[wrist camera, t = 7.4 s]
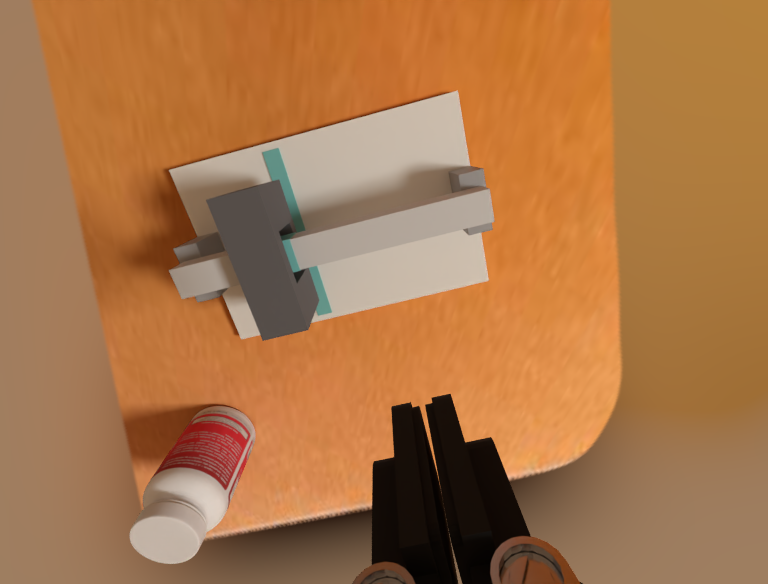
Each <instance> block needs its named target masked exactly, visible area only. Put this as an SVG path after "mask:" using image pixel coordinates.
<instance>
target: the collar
mask: <svg viewBox="0 0 768 584" xmlns="http://www.w3.org/2000/svg"><path fill="white" fill-rule="evenodd" d="M206 202H207V204H208V207H209V209H210V212H211V214H212V217H213V219H214V222H215V224H216V226H217V229H218V231H219V234H220V236H221V239H222V241H223V244H224V246H225V249H226V251H227V254H228V256H229V258H230V261H231V263H232V266H233V268H234V271H235V273H236V276H237V278H238V281H239V283H240V286H241V288H242V290H243V293H244V295H245V298H246V300H247V303H248V305H249V308H250V310H251V313H252V315H253V318H254V320H255V322H256V325H257V327H258V330H259V332H260V335H261V337H262V340H263V341H264V340H268V339H272V338H276V337H280V336H285V335H289V334H293V333H297V332H302V331H306V330H308V329H309V327H310V324H311V321H312V319H313V316H314V314H315V311H316V308H317V306H318V303H319V301H320V300H319V297H318V294H317V291H316V288H315V285H314V282H313V279H312V276H311V273H310V270H309V268H306V269H302V270H300V271H298V272H293V271H292V268H291V265H290V262H289V259H288V257H287V254H286V251H285V248H284V245H283V242H282V239H281V237H280V236H283V235H287V234H291V233H294V232H296V233H297V231H296V228H295V225H294V222H293V219H292V216H291V213H290V210H289V207H288V204H287V201H286V198H285V195H284V192H283V189H282V186H281V183H280V180H279V179H278V180H275V181H271V182H267V183H263V184H260V185H256V186H252V187H248V188H245V189H241V190H237V191H234V192H230V193H227V194H224V195H220V196H217V197H214V198H210V199H207V200H206Z"/></svg>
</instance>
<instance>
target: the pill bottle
mask: <svg viewBox="0 0 768 584" xmlns="http://www.w3.org/2000/svg"><path fill="white" fill-rule="evenodd" d="M254 442H255V429H254V426H253V424H252V422H251V421H250V420H249V418H248V417H247V416H246V415H245V414H243V413H242V412H240V411H238V410H236V409H234V408H231V407H226V406H212V407H208V408H206V409H203V410H201V411H200V412H198V413H197V414H196V415H195V416H194V417H193V419H192V420H191V421H190V423H189V424H188V426H187V427H186V428H185V430H184V431H183V433H182V434H181V436H180V437H179V439H178V440H177V442H176V443H175V445H174V446H173V448H172V449H171V450H170V452H169V453H168V455H167V456H166V458H165V459H164V461H163V462H162V464H161V465H160V467H159V468H158V470H157V471H156V473H155V474H154V476H153V477H152V478H151V480H150V482H149V483H148V485H147V487H146V489H145V491H144V495H143V507H144V509H143V510H142V511H141V513H140V514H139V516H138V518H137V519H136V521H135V523H134V525H133V526H132V528H131V531H130V541H131V543H132V545H133V547H134V548H135V549H136V550H137V551H138V552H139V553H140V554H141V555H143V556H144V557H146V558H148V559H150V560H153V561H156V562H160V563H167V564H174V563H181V562H185V561H187V560H189V559H191V558H192V557H193V556H194V555H195V554H196V552H197V551H198V549H199V547H200V545H201V543H202V541H203V539H204V538H205V536H206V532H208V531H210V530H211V529H213V528H214V527H215V526H216V525H218V523H219V522H220V521H221V520H222V518H223V517H224V515H225V513H226V511H227V509H228V506H229V504H230V501H231V499H232V496H233V494H234V491H235V489H236V487H237V484H238V482H239V479H240V477H241V474H242V472H243V470H244V467H245V465H246V462H247V460H248V458H249V455H250V453H251V451H252V448H253V445H254Z"/></svg>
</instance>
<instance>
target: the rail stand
mask: <svg viewBox="0 0 768 584" xmlns="http://www.w3.org/2000/svg"><path fill="white" fill-rule="evenodd" d="M169 172H170V174H171V176H172V179H173V181H174V183H175V186H176V188H177V190H178V193H179V195H180V197H181V200H182V202H183V204H184V207H185V209H186V211H187V214H188V216H189V218H190V221H191V223H192V225H193V228H194V230H195V232H196V235H197V237H196V238H194V239H192V240H190V241H188V242H186V243H184V244H182V245H180V246H178V247H176V248H174V249H173V250H174V252H175V254H176V256H177V258H178V260H179V263H180V264H179V265H177V266H175V267H174V268H172V269H170V270H169V272H170V275H171V277H172V279H173V281H174V283H175V285H176V287H177V289H178V292H179V294H180V296H181V298H182V299H185V298H189V297H193V296H195V298H196V300H197V302H202V301H206V300H210V299H214V298H218V297H220V296H221V295H223V298H224V300H225V302H226V305H227V307H228V309H229V312H230V314H231V316H232V319H233V321H234V323H235V326H236V328H237V330H238V333H239V335H240V337H241V339H245V338H249V337H254V336H258V335H260V332H259V330H258V327H257V325H256V322H255V320H254V318H253V315H252V313H251V310H250V308H249V305H248V303H247V300H246V298H245V295H244V293H243V290H242V288H241V286H240V283H239V281H238V278H237V276H236V273H235V271H234V268H233V266H232V263H231V261H230V258H229V256H228V254H227V251H226V249H225V246H224V244H223V241H222V239H221V236H220V234H219V231H218V229H217V226H216V224H215V222H214V219H213V217H212V214H211V212H210V209H209V207H208V204H207V202H206V200H207V199H210V198H214V197H217V196H220V195H224V194H227V193H230V192H234V191H237V190H241V189H245V188H248V187H252V186H256V185H260V184H263V183H267V182H271V181H275V180H278V179H279V180H280V183H281V186H282V189H283V192H284V195H285V198H286V201H287V204H288V207H289V210H290V213H291V216H292V219H293V222H294V225H295V228H296V231H297V233H296V232H294V233H291V234H287V235H283V236H280V237H281V239H282V242H283V245H284V248H285V251H286V254H287V257H288V259H289V262H290V265H291V268H292V271H293V272H298V271H300V270H302V269H306V268H309V270H310V273H311V276H312V279H313V282H314V285H315V288H316V291H317V294H318V297H319V300H320V301H319V303H318V306H317V308H316V311H315V314H314V316H313V319H312V321H311V323H313V322H317V321H321V320H325V319H329V318H334V317H338V316H342V315H346V314H350V313H355V312H359V311H363V310H367V309H372V308H376V307H380V306H384V305H388V304H393V303H397V302H401V301H405V300H410V299H414V298H418V297H422V296H426V295H431V294H435V293H439V292H443V291H447V290H452V289H456V288H460V287H464V286H469V285H473V284H477V283H481V282H485V281H489V279H488V273H487V267H486V261H485V254H484V248H483V242H482V236H481V232H485V231H489V230H493V229H492V222H495V221H494V215H493V208H492V201H491V195H490V189H489V188H486V183H485V176H484V170H483V168H478V167H472V166H470V162H469V156H468V150H467V144H466V138H465V131H464V125H463V119H462V113H461V107H460V101H459V95H458V91H455V92H451V93H447V94H444V95H440V96H436V97H433V98H429V99H425V100H422V101H418V102H415V103H411V104H407V105H404V106H400V107H396V108H393V109H389V110H385V111H382V112H378V113H374V114H371V115H367V116H364V117H360V118H356V119H353V120H349V121H345V122H342V123H338V124H334V125H331V126H327V127H323V128H320V129H316V130H313V131H309V132H305V133H302V134H298V135H294V136H291V137H287V138H283V139H280V140H276V141H272V142H269V143H265V144H262V145H258V146H254V147H251V148H247V149H243V150H240V151H236V152H232V153H229V154H225V155H221V156H218V157H214V158H211V159H207V160H203V161H200V162H196V163H192V164H189V165H185V166H181V167H178V168H174V169H170V170H169Z"/></svg>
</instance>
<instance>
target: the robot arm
mask: <svg viewBox="0 0 768 584" xmlns="http://www.w3.org/2000/svg"><path fill="white" fill-rule="evenodd" d="M432 402H433V403H431V404H426V405H425V406H426V412H427V417H428V423H429V428H430V433H431V439H432V444H433V449H434V455H435V460H436V465H437V471H438V475H437V471H436V468H435V464H434V460H433V456H432V452H431V448H430V445H429V441H428V437H427V433H426V429H425V425H424V422H423V418H422V414H421V410H420V407H419V406H417V407H413V408H412V405H411V402H410V403H406V404H401V405H396V406H392V425H393V442H394V457H393V458H389V459H384V460H379V461H374V463H373V493H372V565H371V566H370V567H368V568H366V569H364V571H362V572H361V573H360V574H359V575H358V576H357V577H356V578H355V580H354V581H353V583H352V584H458V580H457V574H456V569H455V564H454V558H453V553H452V547H451V542H452V546H453V550H454V554H455V558H456V562H457V565H458V569H459V572H460V577H461V580H462V583H463V584H582V583H581V582H579V581H578V579H577V577H576V576H575V574H574V573H573V571H572V569H571V568H570V566H569V564H568V563H567V561H566V560H565V559H564V557H563V556H562V555H561V554H560V553H559V551H558V550H557V549H555V548H554V547H553V546H551V545H550V544H549V543H547V542H545V541H542V540H540V539H538V538H535V537H531V536H530V533H529V531H528V528H527V526H526V523H525V521H524V518H523V516H522V513H521V510H520V508H519V506H518V503H517V500H516V498H515V495H514V493H513V490H512V487H511V485H510V482H509V480H508V477H507V475H506V472H505V470H504V467H503V465H502V462H501V459H500V457H499V454H498V452H497V449H496V447H495V444H494V442H493V440H492V438H491V437H490V438H485V439H480V440H476V441H471V442H466V443H465V441H464V437H463V434H462V431H461V427H460V424H459V421H458V417H457V414H456V410H455V407H454V404H453V400H452V397H451V394H447V395H442V396H438V397H433V398H432ZM438 476H439V479H438ZM439 481H440V484H439ZM440 487H441V488H440ZM441 492H442V494H441ZM442 497H443V499H442ZM443 503H444V504H443ZM444 508H445V510H444ZM445 513H446V515H445ZM446 519H447V521H446ZM447 524H448V526H447ZM448 529H449V531H448ZM449 534H450V537H449ZM450 538H451V542H450Z"/></svg>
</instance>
